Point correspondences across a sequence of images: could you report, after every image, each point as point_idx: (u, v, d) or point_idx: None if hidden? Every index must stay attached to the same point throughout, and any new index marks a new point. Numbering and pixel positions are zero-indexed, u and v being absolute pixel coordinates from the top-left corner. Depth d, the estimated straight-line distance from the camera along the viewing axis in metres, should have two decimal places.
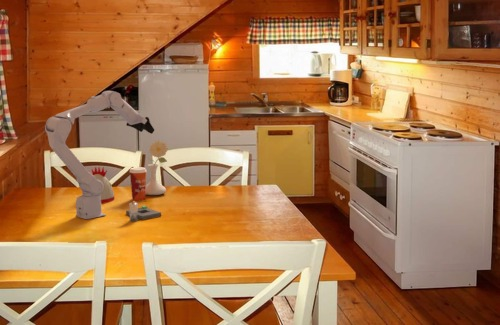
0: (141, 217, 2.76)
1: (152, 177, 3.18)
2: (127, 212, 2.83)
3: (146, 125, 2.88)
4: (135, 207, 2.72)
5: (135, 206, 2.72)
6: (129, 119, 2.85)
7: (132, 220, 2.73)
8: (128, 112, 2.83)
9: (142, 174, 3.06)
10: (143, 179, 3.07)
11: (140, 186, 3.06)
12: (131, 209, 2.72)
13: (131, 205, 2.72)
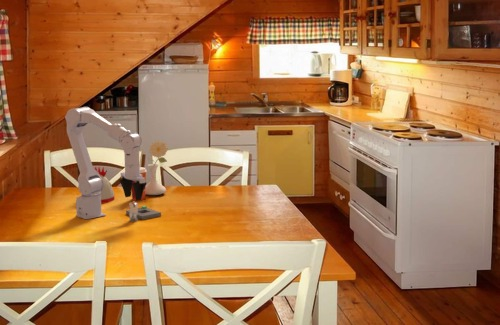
0: (141, 217, 2.76)
1: (152, 177, 3.18)
2: (127, 212, 2.83)
3: (139, 188, 2.69)
4: (135, 207, 2.72)
5: (135, 206, 2.72)
6: (130, 171, 2.68)
7: (132, 220, 2.73)
8: (127, 164, 2.68)
9: (142, 174, 3.06)
10: None
11: None
12: (131, 209, 2.72)
13: (131, 205, 2.72)
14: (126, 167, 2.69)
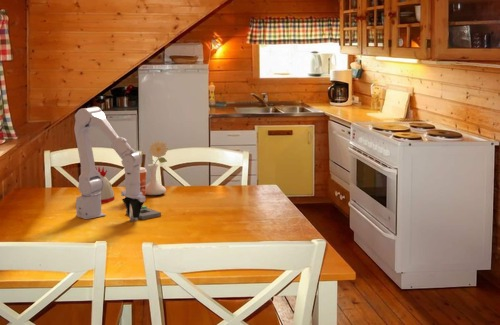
0: (141, 217, 2.76)
1: (152, 177, 3.18)
2: (127, 212, 2.83)
3: (136, 206, 2.72)
4: None
5: None
6: (130, 190, 2.70)
7: (132, 220, 2.73)
8: (127, 183, 2.69)
9: (142, 174, 3.06)
10: (143, 179, 3.07)
11: (140, 186, 3.06)
12: (131, 209, 2.72)
13: None
14: (127, 186, 2.70)
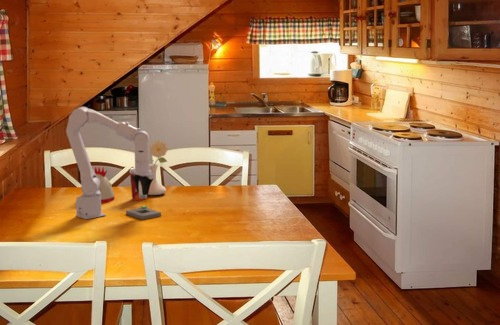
0: (141, 217, 2.76)
1: None
2: (127, 212, 2.83)
3: (146, 183, 2.79)
4: None
5: None
6: (140, 167, 2.76)
7: (141, 197, 2.80)
8: (140, 160, 2.76)
9: None
10: None
11: None
12: (140, 186, 2.79)
13: (140, 182, 2.79)
14: (136, 163, 2.77)
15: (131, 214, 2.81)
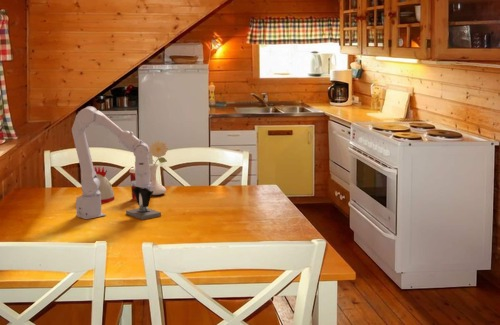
0: (141, 217, 2.76)
1: (152, 177, 3.18)
2: (127, 212, 2.83)
3: (146, 195, 2.80)
4: None
5: None
6: (140, 179, 2.77)
7: (142, 209, 2.81)
8: (140, 173, 2.77)
9: None
10: None
11: None
12: (141, 198, 2.80)
13: None
14: (136, 176, 2.78)
15: (131, 214, 2.81)
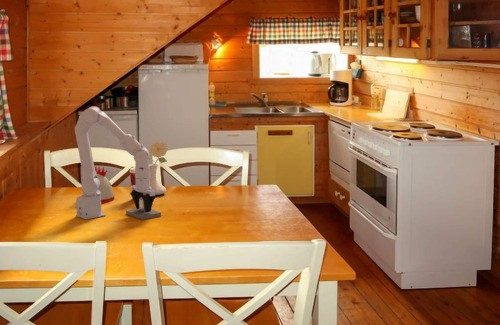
0: (141, 217, 2.76)
1: (152, 177, 3.18)
2: (127, 212, 2.83)
3: (148, 201, 2.79)
4: None
5: None
6: (140, 184, 2.78)
7: None
8: (140, 177, 2.77)
9: None
10: None
11: None
12: (141, 204, 2.80)
13: (141, 200, 2.80)
14: (137, 180, 2.78)
15: (131, 214, 2.81)
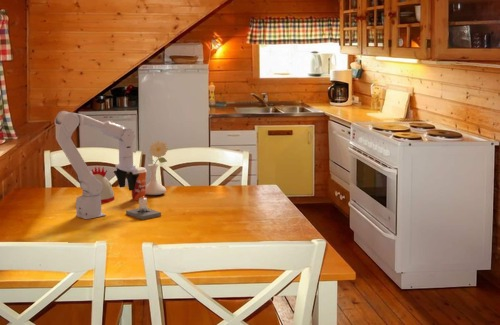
0: (141, 217, 2.76)
1: (152, 177, 3.18)
2: (127, 212, 2.83)
3: (132, 179, 2.85)
4: (145, 202, 2.81)
5: (145, 201, 2.81)
6: (123, 162, 2.84)
7: None
8: (127, 156, 2.84)
9: (142, 174, 3.06)
10: (143, 179, 3.07)
11: (140, 186, 3.06)
12: (141, 204, 2.80)
13: (141, 200, 2.80)
14: (120, 159, 2.84)
15: (131, 214, 2.81)
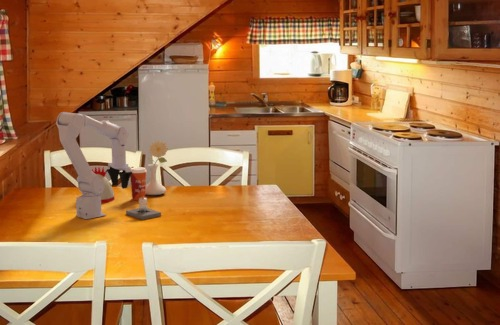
0: (141, 217, 2.76)
1: (152, 177, 3.18)
2: (127, 212, 2.83)
3: (125, 177, 2.88)
4: (145, 202, 2.81)
5: (145, 201, 2.81)
6: (116, 161, 2.87)
7: None
8: (122, 154, 2.88)
9: (142, 174, 3.06)
10: (143, 179, 3.07)
11: (140, 186, 3.06)
12: (141, 204, 2.80)
13: (141, 200, 2.80)
14: (113, 157, 2.88)
15: (131, 214, 2.81)
